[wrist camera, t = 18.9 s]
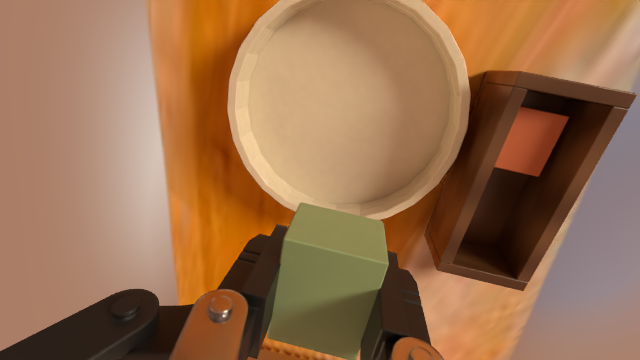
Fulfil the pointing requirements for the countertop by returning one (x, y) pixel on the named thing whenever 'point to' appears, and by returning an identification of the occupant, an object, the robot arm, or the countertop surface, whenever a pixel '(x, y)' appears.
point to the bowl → (349, 103)
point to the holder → (518, 177)
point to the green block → (328, 280)
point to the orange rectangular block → (531, 141)
